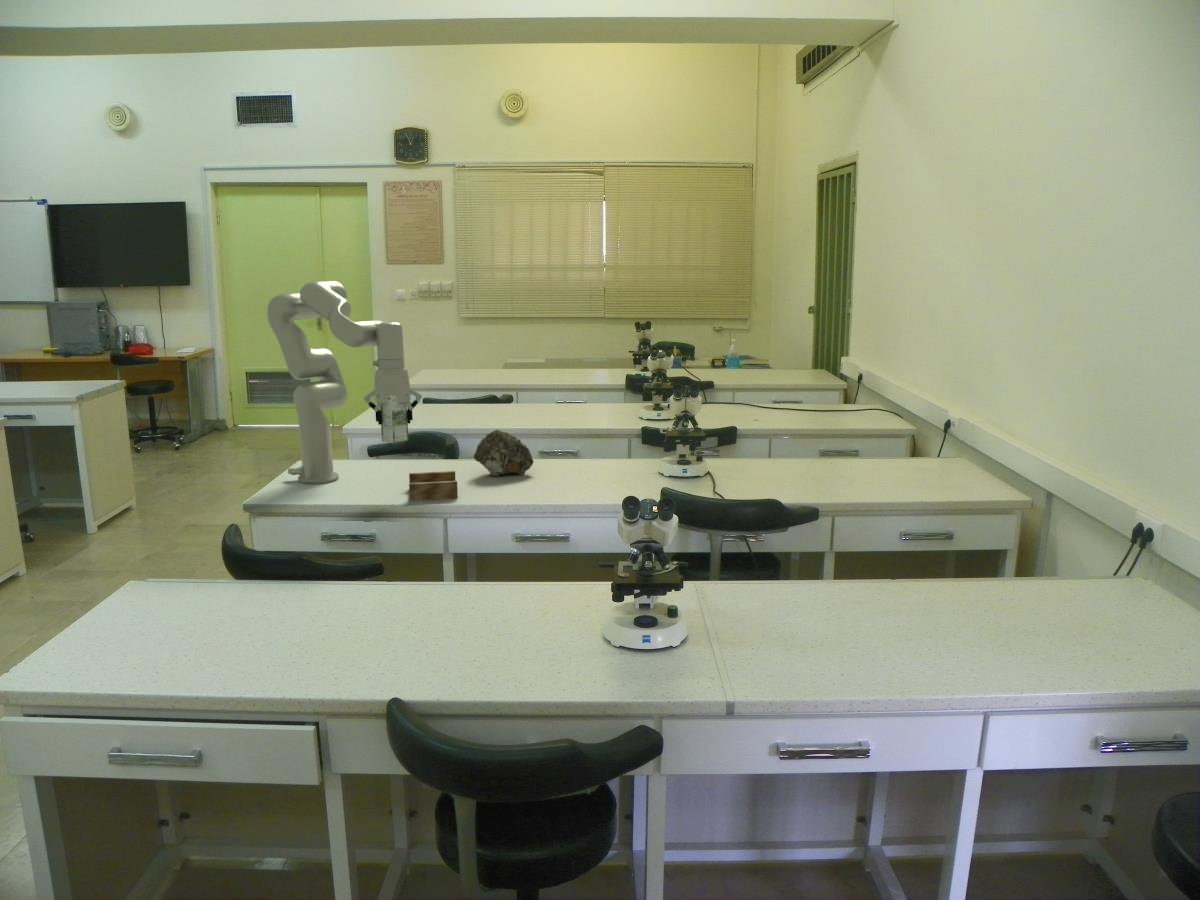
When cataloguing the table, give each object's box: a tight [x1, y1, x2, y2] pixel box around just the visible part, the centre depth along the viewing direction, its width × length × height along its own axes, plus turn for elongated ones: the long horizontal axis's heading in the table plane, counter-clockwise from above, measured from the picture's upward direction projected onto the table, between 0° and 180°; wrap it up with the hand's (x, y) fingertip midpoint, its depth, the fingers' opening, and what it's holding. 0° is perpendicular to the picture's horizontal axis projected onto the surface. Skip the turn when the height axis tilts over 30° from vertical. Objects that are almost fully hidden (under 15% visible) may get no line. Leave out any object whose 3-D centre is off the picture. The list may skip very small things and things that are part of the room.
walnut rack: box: [408, 470, 459, 501], centre depth 276 cm, size 14×14×5 cm
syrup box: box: [380, 395, 409, 444], centre depth 270 cm, size 6×6×14 cm
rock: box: [473, 429, 534, 476], centre depth 301 cm, size 18×14×15 cm
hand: (394, 423), depth 270 cm, fingers closed on syrup box, 8 cm apart
